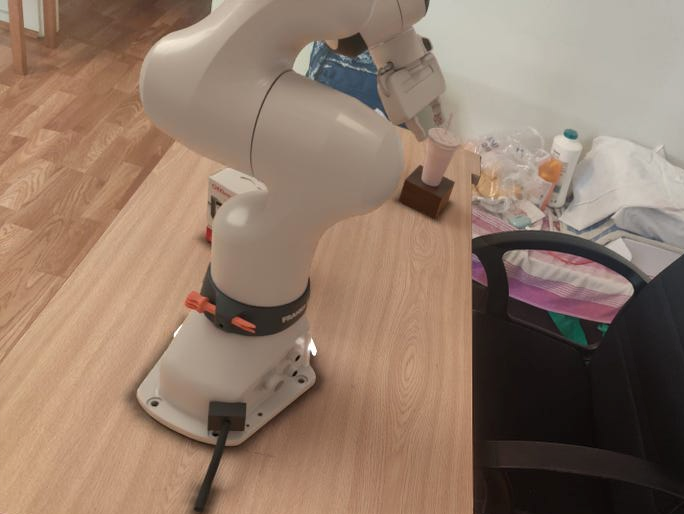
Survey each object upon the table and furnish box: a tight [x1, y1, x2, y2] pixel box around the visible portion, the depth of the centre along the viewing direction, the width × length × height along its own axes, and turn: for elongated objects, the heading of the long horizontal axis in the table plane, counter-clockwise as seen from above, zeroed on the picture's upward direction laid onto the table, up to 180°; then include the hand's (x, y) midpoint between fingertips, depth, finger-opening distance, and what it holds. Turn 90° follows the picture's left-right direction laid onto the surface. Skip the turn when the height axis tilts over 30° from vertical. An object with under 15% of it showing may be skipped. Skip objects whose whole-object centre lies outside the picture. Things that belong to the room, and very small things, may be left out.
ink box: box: [205, 166, 267, 244], centre depth 91 cm, size 9×5×12 cm, turn 65°
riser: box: [398, 164, 456, 220], centre depth 121 cm, size 8×8×5 cm
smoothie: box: [421, 112, 461, 186], centre depth 114 cm, size 6×6×14 cm
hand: (433, 131), depth 113 cm, fingers open, 8 cm apart
